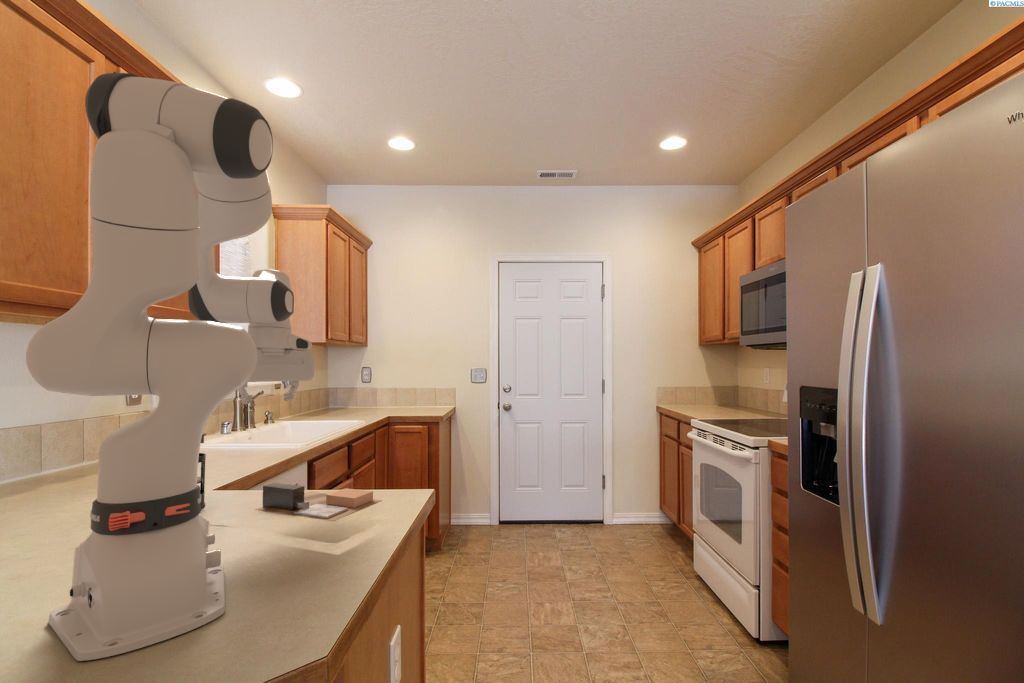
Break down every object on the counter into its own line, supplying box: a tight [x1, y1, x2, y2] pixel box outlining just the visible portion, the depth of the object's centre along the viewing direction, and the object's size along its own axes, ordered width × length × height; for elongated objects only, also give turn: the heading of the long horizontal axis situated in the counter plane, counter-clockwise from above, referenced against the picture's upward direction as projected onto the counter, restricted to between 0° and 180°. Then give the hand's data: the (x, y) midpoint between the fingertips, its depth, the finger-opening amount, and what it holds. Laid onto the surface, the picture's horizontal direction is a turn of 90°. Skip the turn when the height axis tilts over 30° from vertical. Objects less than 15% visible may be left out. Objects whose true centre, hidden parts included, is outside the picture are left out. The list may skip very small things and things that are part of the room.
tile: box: [326, 487, 374, 508], centre depth 101 cm, size 2×6×8 cm
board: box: [254, 491, 383, 522], centre depth 100 cm, size 22×15×2 cm
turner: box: [262, 482, 348, 519], centre depth 97 cm, size 20×6×4 cm, turn 68°
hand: (268, 402), depth 102 cm, fingers open, 8 cm apart
